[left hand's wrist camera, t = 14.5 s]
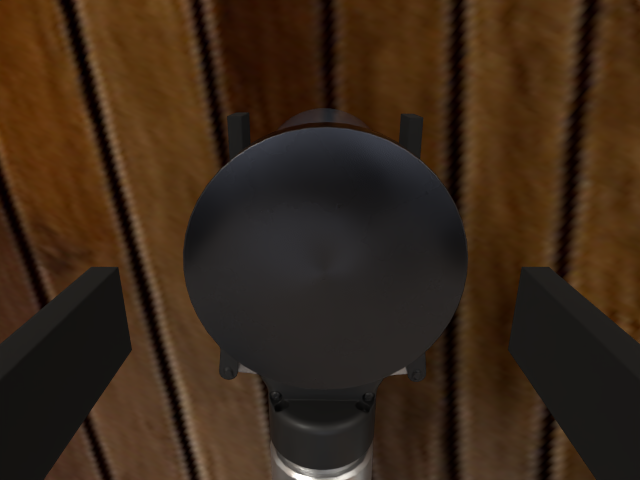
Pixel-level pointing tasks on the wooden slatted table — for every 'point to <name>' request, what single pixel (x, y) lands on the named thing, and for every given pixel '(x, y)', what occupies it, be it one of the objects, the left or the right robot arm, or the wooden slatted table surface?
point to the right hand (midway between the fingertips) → (325, 115)
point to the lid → (325, 256)
